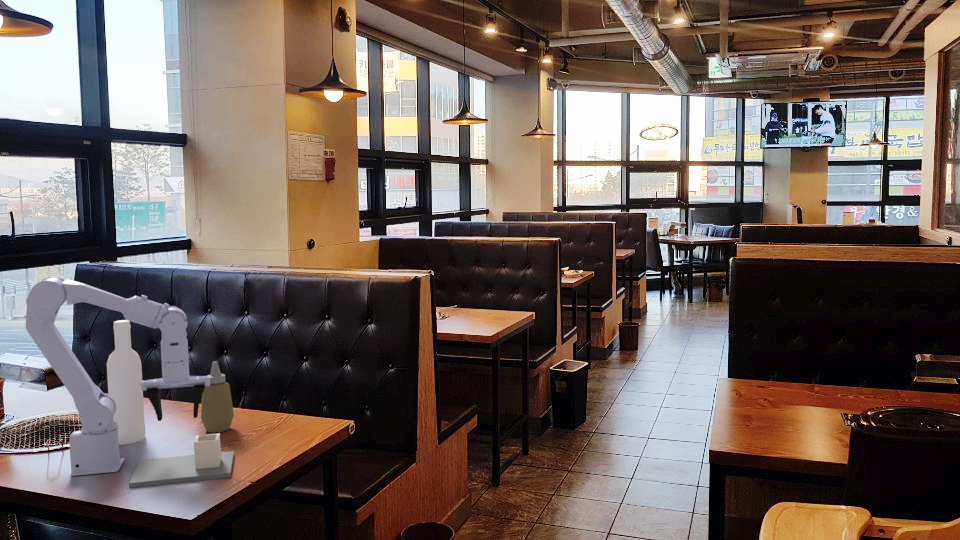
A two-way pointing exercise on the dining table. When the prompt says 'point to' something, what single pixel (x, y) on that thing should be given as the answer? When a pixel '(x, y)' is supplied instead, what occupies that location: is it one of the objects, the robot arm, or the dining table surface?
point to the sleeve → (207, 451)
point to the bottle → (126, 386)
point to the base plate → (178, 470)
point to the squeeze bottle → (217, 402)
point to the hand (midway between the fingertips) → (178, 418)
